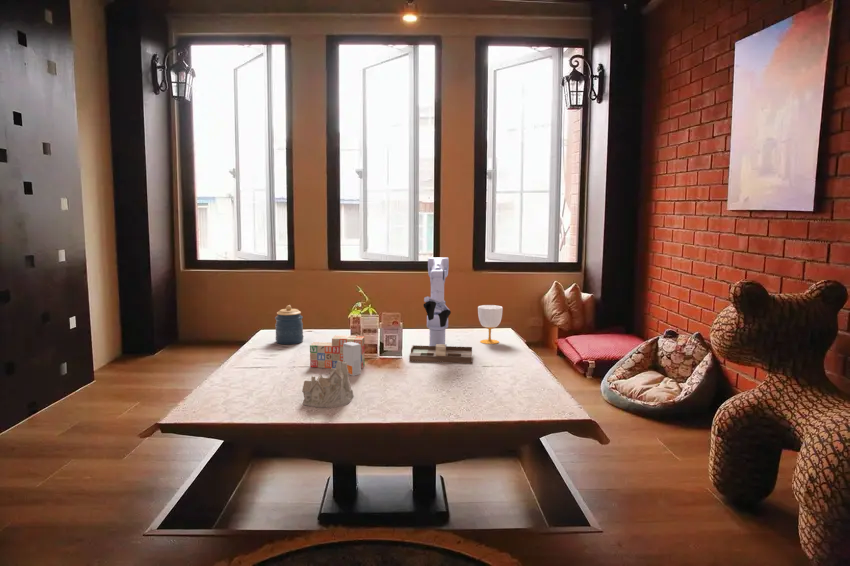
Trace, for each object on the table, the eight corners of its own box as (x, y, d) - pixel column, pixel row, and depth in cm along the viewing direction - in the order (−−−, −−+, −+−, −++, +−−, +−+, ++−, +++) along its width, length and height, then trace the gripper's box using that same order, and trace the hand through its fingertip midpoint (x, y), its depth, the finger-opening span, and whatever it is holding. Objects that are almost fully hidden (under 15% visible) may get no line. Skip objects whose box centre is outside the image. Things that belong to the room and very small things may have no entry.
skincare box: (342, 373, 237) (342, 343, 236) (351, 370, 240) (350, 341, 239) (353, 376, 233) (352, 345, 231) (361, 374, 236) (361, 343, 235)
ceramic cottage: (359, 393, 212) (355, 351, 209) (342, 411, 196) (338, 366, 193) (317, 393, 215) (313, 352, 213) (297, 410, 199) (293, 366, 197)
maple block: (436, 353, 259) (436, 344, 258) (445, 353, 258) (445, 344, 258) (435, 355, 255) (435, 346, 254) (445, 355, 254) (445, 346, 254)
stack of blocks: (309, 367, 245) (309, 337, 243) (314, 363, 251) (313, 334, 250) (362, 369, 243) (361, 339, 242) (365, 365, 249) (364, 335, 248)
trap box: (412, 354, 267) (412, 345, 266) (471, 355, 264) (472, 346, 264) (409, 361, 255) (409, 352, 254) (471, 363, 253) (471, 353, 252)
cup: (477, 338, 297) (478, 304, 295) (502, 339, 296) (502, 305, 294) (476, 344, 286) (477, 308, 284) (501, 345, 284) (502, 309, 282)
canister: (294, 337, 299) (293, 302, 296) (308, 342, 289) (307, 305, 287) (270, 341, 290) (269, 305, 288) (284, 346, 281) (283, 308, 278)
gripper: (433, 284, 251) (432, 313, 244) (455, 298, 260) (455, 326, 253) (420, 290, 255) (419, 318, 248) (442, 303, 264) (442, 331, 257)
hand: (436, 322), depth 251 cm, fingers open, 7 cm apart
